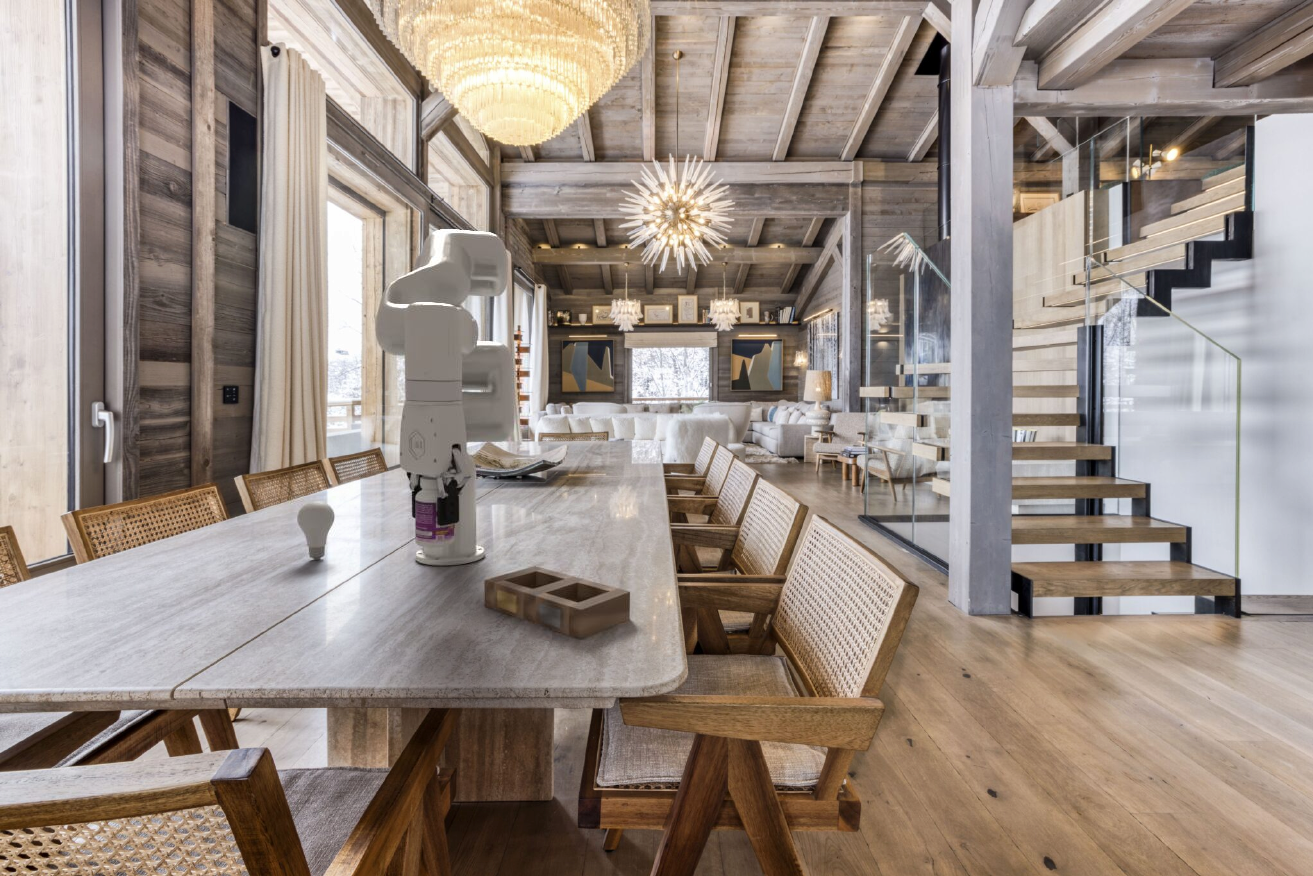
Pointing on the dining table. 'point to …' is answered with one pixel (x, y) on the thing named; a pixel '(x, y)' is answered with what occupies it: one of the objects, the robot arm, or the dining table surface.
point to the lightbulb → (316, 526)
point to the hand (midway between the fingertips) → (435, 518)
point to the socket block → (558, 601)
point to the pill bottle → (430, 517)
